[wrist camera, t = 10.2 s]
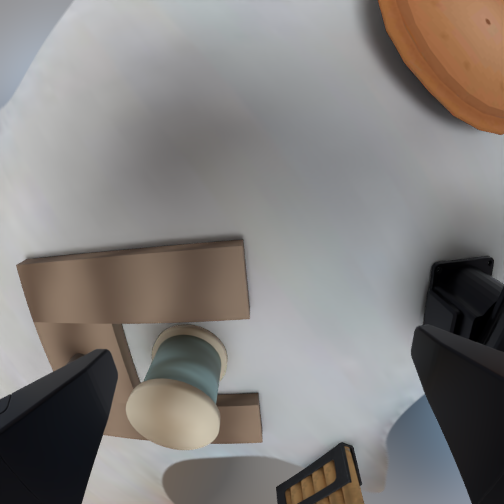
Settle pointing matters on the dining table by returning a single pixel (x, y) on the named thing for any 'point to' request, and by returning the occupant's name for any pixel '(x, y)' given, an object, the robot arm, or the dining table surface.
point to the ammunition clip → (325, 480)
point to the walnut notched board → (140, 313)
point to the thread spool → (180, 389)
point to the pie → (454, 54)
